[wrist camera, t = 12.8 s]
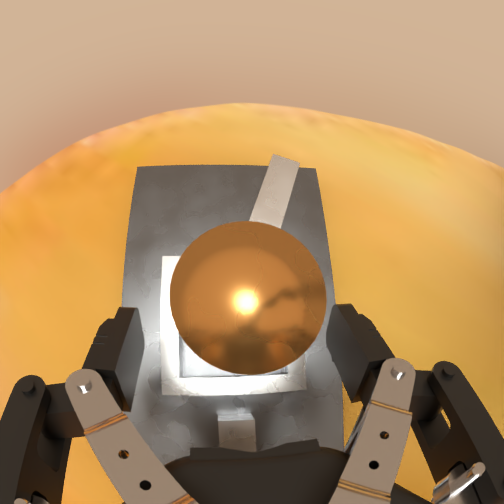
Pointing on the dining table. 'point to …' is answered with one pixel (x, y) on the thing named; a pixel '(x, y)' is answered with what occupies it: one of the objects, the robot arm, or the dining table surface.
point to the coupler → (247, 297)
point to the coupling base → (173, 346)
